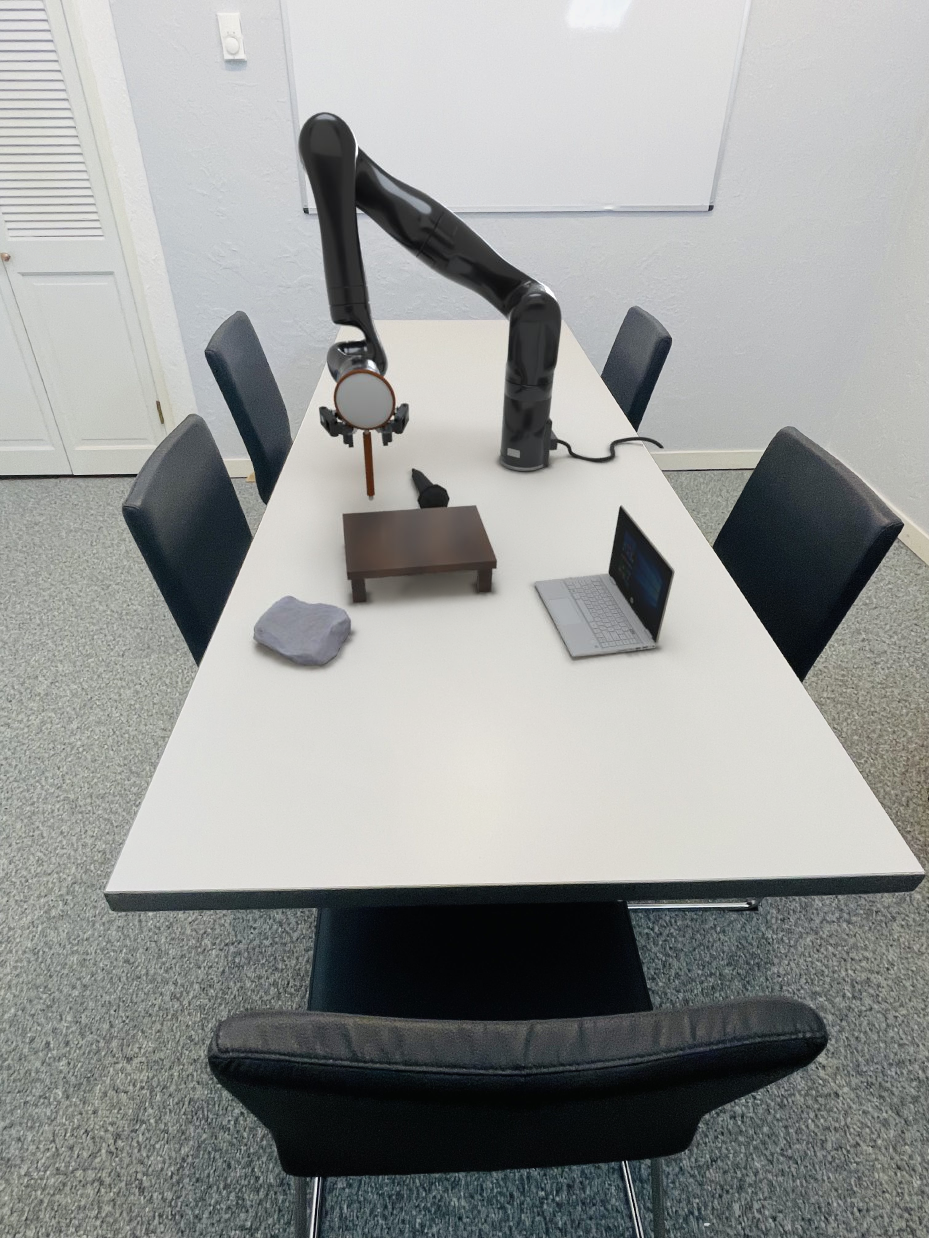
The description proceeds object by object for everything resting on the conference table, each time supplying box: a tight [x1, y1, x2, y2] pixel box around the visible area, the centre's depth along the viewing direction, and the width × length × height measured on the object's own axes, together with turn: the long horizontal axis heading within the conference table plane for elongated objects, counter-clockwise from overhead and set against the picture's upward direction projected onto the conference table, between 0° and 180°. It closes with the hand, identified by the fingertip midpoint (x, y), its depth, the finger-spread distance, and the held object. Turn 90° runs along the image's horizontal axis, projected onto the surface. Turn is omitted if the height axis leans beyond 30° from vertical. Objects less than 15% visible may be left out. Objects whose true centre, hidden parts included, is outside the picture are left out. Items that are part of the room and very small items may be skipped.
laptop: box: [534, 505, 675, 657], centre depth 101 cm, size 18×12×13 cm
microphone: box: [411, 467, 450, 509], centre depth 132 cm, size 6×6×20 cm
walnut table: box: [342, 504, 498, 604], centre depth 112 cm, size 22×17×6 cm
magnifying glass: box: [333, 369, 397, 502], centre depth 103 cm, size 9×2×20 cm, turn 89°
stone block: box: [252, 595, 352, 666], centre depth 98 cm, size 12×5×10 cm
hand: (368, 440), depth 100 cm, fingers closed on magnifying glass, 4 cm apart
